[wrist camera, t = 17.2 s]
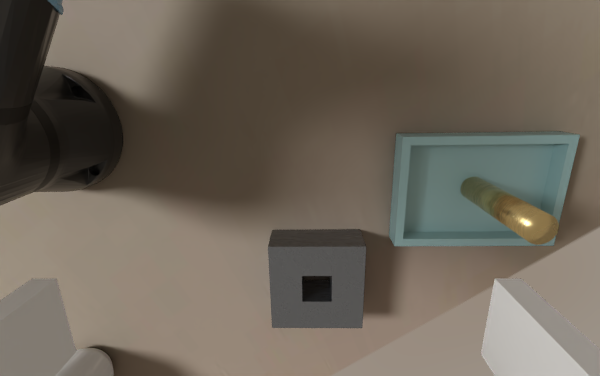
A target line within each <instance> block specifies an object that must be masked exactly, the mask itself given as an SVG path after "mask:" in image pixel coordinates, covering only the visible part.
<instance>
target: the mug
mask: <svg viewBox="0 0 600 376" xmlns="http://www.w3.org/2000/svg"><path fill="white" fill-rule="evenodd" d="M113 375H114V370H113V365H112V361H111V359H110V357H109V356H108V355H107V354H106V353H105V352H104V351H102V350H100V349H96V348H84V349H78V350H76V353H75V354H74V355H73V356H72V357H71V358H70V360H69V361H68V362H67V363H66V364H65V365H64V366H63V368H62V369H61V370H60V371H59V372H58V373H57V374H56V376H113Z"/></svg>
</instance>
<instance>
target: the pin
mask: <svg viewBox="0 0 600 376" xmlns="http://www.w3.org/2000/svg"><path fill="white" fill-rule="evenodd" d="M460 190H461V194H462V195H463V196H464V197H465V198H466V199H468V200H469V201H471V202H472V203H474V204H475V205H476V206H478V207H479V208H481V209H482V210H484V211H485V212H487V213H488V214H489V215H491V216H492V217H494V218H495V219H497V220H498V221H499V222H501V223H502V224H504V225H505V226H507V227H508V228H509V229H511V230H512V231H514V232H515V233H517V234H518V235H519V236H521V237H522V238H524V239H525V240H527V241H528V242H530V243H531V244H535V245H541V244H545V243H547V242H549V241H551V240H552V239H553V238H554V237H555V236H556V234H557V232H558V229H559V223H558V221H557V219H556V218H555V217H554V216H552V215H550V214H548V213H546V212H544V211H542V210H541V209H539V208H537V207H535V206H533V205H531V204H529V203H527V202H525V201H523V200H521V199H519V198H517V197H516V196H514V195H512V194H510V193H508V192H506V191H504V190H502V189H500V188H498V187H496V186H494V185H492V184H491V183H489V182H487V181H485V180H483V179H481V178H479V177H469V178H467V179H466V180H465V181H464V182H463V183H462V185H461V189H460Z"/></svg>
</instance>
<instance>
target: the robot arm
mask: <svg viewBox="0 0 600 376" xmlns="http://www.w3.org/2000/svg"><path fill="white" fill-rule="evenodd" d="M60 14H61V15H62V14H63V7H62V0H0V205H3V204H5V203H8V202H10V201H13V200H15V199H17V198H20V197H22V196H25V195H27V194H30V193H33V192H67V191H75V190H80V189H83V188H86V187H88V186H90V185H93V184H95V183H97V182H99V181H101V180H102V179H104V178H105V177H106V176H108V175H109V174H110V173H111V172H112V170H113V169H114V168H115V166H116V164H117V163H118V160H119V158H120V155H121V151H122V144H123V136H122V128H121V124H120V120H119V118H118V115H117V113H116V111H115V109H114V107H113V105H112V103H111V102H110V100H109V99H108V98H107V96H106V95H105V94H104V93H103V92H102V90H101V89H100V88H98V87H97V86H96V85H95V84H94V83H93V82H91V81H90V80H89V79H87V78H86V77H84V76H82V75H80V74H78V73H76V72H74V71H71V70H68V69H64V68H60V67H50V66H44V64H45V60H46V57H47V54H48V51H49V47H50V44H51V41H52V38H53V34H54V31H55V28H56V25H57V22H58V18H59V15H60ZM75 353H76V348H75V344H74V341H73V337H72V333H71V330H70V326H69V322H68V319H67V315H66V311H65V307H64V304H63V300H62V296H61V293H60V289H59V285H58V282H57V279H31V280H29V281H28V282H26V283H25V284H24V285H22V286H21V287H19V288H18V289H16V290H15V291H13V292H12V293H11V294H9V295H8V296H6V297H5V298H3V299H2V300H0V376H56V374H57V373H58V372H59V371H60V370H61V369H62V368H63V366H64V365H65V364H66V363H67V362H68V361H69V360H70V358H71V357H72V356H73V355H74V354H75ZM481 355H482V357H483V358H484V360H485V361H486V363H487V364H488V366H489V367H490V369H491V371H492V372H493V374H494V375H495V376H600V349H599V348H598V347H597V346H596V345H595V344H594V343H593V342H592V341H590V340H589V339H588V338H587V337H586V336H585V335H584V334H583V333H582V332H580V331H579V330H578V329H577V328H576V327H575V326H574V325H573V324H572V323H570V322H569V321H568V320H567V319H566V318H565V317H564V316H563V315H561V314H560V313H559V312H558V311H557V310H556V309H555V308H554V307H552V306H551V305H550V304H549V303H548V302H547V301H546V300H545V299H544V298H543V297H541V296H540V295H539V294H538V293H537V292H536V291H535V290H534V289H533V288H531V287H530V286H529V285H528V284H527V283H526V282H525V281H524V280H523V279H521V278H515V279H514V278H512V279H510V278H495V280H494V285H493V291H492V296H491V302H490V308H489V313H488V318H487V324H486V329H485V335H484V340H483V346H482V351H481Z"/></svg>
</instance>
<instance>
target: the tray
mask: <svg viewBox="0 0 600 376" xmlns="http://www.w3.org/2000/svg"><path fill="white" fill-rule="evenodd" d="M579 137H580V135H578V134H573V133H567V132H561V131H550V132H473V133H396V144H395V158H394V172H393V187H392V201H391V215H390V229H389V237H390V239H391V241H392V242H393V244H394V246H554V242H555V238H556V236H555V237H554V238H553V239H552V240H551V241H549V242H547V243H545V244H541V245H535V244H531V243H530V242H528V241H527V240H525V239H524V238H522V237H521V236H519V235H518V234H517V233H515V232H514V231H512V230H511V229H509V228H508V227H507V226H505V225H504V224H502V223H501V222H499V221H498V220H497V219H495V218H494V217H492V216H491V215H489V214H488V213H487V212H485V211H484V210H482V209H481V208H479V207H478V206H476V205H475V204H474V203H472V202H471V201H469V200H468V199H466V198H465V197H464V196H463V195H462V194H461V190H460V189H461V185H462V183H463V182H464V181H465V180H466V179H467V178H469V177H479V178H481V179H483V180H485V181H487V182H489V183H491V184H492V185H494V186H496V187H498V188H500V189H502V190H504V191H506V192H508V193H510V194H512V195H514V196H516V197H517V198H519V199H521V200H523V201H525V202H527V203H529V204H531V205H533V206H535V207H537V208H539V209H541V210H542V211H544V212H546V213H548V214H550V215H552V216H554V217H555V218H556V219H557V221H558V223H559V221H560V217H561V213H562V209H563V204H564V200H565V196H566V192H567V187H568V183H569V179H570V175H571V170H572V166H573V162H574V158H575V154H576V149H577V145H578V141H579Z"/></svg>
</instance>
